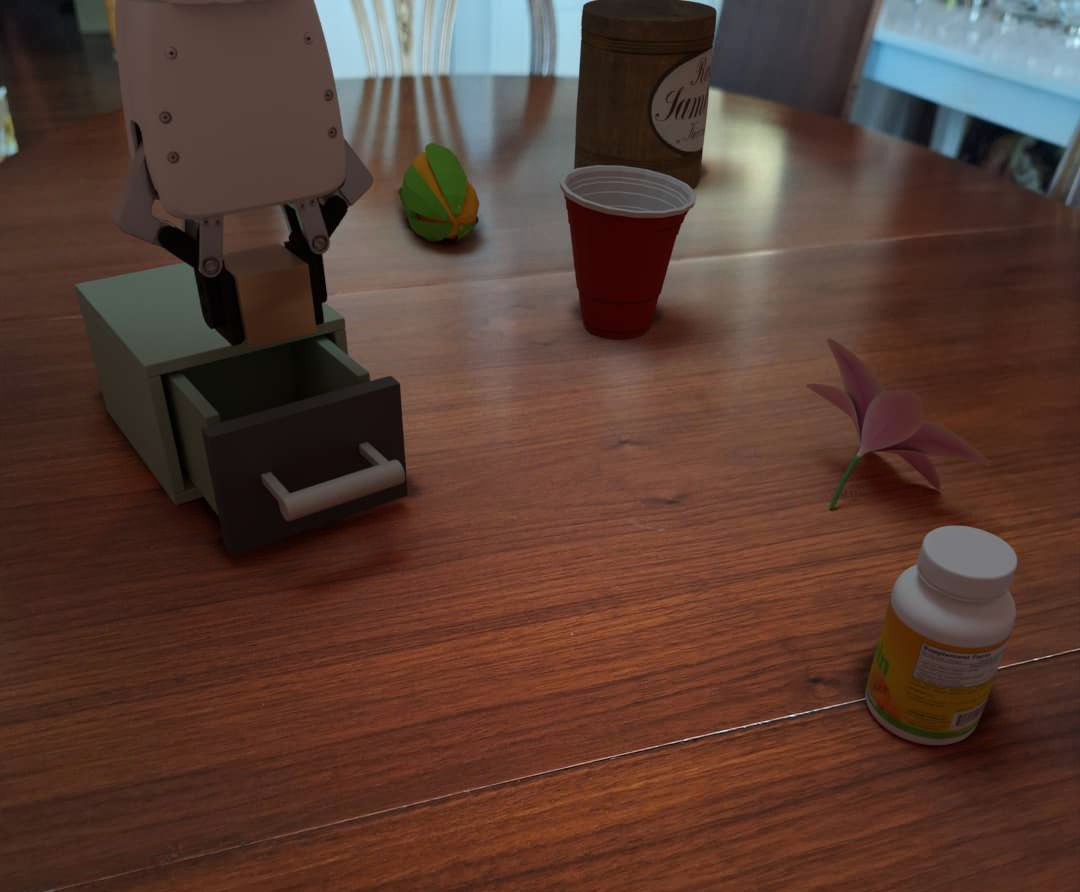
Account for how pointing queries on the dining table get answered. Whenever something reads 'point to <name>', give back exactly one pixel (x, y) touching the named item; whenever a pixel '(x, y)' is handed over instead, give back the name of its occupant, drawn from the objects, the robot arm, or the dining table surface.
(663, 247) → the plastic cup
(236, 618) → the dining table surface
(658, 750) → the dining table surface
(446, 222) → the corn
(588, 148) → the wooden container
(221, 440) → the drawer
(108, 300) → the cabinet
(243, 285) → the block
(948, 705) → the supplement bottle
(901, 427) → the lily
